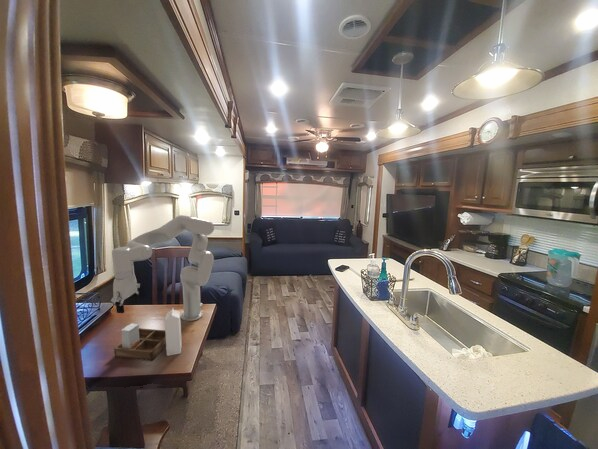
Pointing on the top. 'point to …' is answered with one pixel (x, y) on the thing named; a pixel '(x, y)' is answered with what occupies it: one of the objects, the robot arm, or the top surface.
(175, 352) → the milk
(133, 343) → the skincare box
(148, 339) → the walnut caddy
